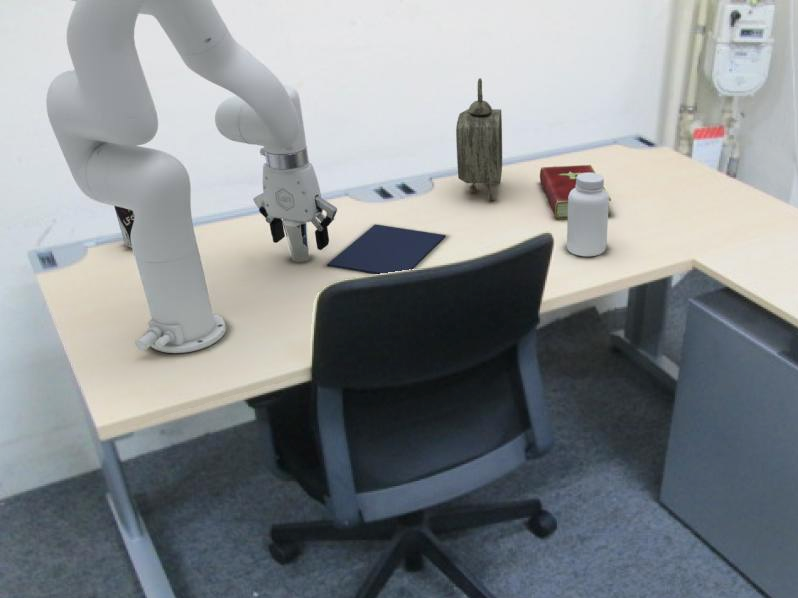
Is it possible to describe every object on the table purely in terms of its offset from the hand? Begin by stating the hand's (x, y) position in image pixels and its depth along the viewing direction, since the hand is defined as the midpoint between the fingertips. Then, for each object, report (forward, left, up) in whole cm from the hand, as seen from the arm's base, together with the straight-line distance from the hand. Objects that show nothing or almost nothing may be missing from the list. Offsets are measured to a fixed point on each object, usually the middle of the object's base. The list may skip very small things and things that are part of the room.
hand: (301, 243), depth 174 cm
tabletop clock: (+44, -20, -3) cm, 48 cm away
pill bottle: (+23, -51, -3) cm, 56 cm away
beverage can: (-5, +34, -3) cm, 35 cm away
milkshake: (0, 0, -3) cm, 3 cm away
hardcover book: (+47, -41, -3) cm, 62 cm away
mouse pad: (+9, -14, -3) cm, 17 cm away
